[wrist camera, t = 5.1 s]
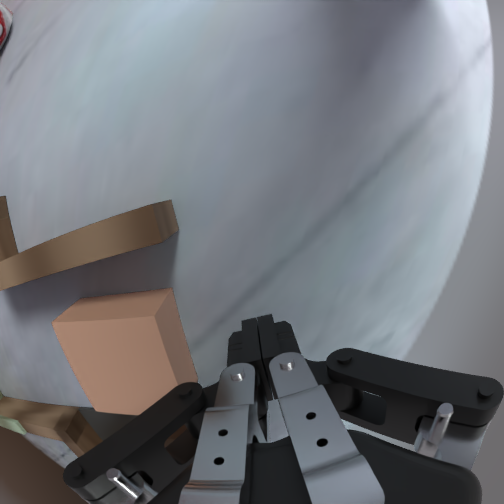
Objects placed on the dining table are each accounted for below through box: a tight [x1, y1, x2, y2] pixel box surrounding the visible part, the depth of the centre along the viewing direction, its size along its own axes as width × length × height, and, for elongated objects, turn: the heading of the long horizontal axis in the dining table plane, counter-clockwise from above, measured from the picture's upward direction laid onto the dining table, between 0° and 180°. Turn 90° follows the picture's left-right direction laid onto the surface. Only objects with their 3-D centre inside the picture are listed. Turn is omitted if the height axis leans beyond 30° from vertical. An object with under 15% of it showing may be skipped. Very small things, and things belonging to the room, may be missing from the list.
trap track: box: [0, 196, 187, 458], centre depth 13 cm, size 28×22×3 cm
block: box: [51, 288, 198, 415], centre depth 13 cm, size 6×6×4 cm
